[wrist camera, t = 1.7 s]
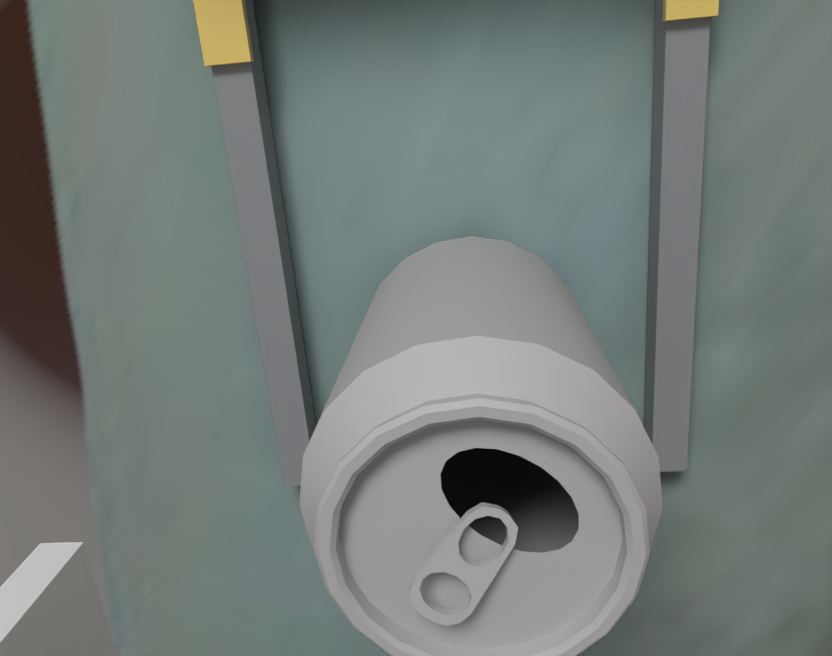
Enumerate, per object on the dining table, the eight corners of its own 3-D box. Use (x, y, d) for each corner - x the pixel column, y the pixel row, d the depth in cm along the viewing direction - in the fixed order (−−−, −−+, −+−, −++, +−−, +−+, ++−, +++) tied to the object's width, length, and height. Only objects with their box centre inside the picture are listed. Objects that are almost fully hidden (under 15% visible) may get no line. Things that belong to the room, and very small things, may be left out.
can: (624, 312, 23) (783, 525, 12) (494, 466, 25) (519, 769, 14) (445, 186, 22) (426, 283, 11) (326, 358, 24) (206, 590, 13)
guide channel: (679, 453, 24) (744, 561, 19) (289, 469, 26) (240, 574, 20) (719, -395, 17) (851, -645, 11) (158, -309, 18) (19, -494, 12)
